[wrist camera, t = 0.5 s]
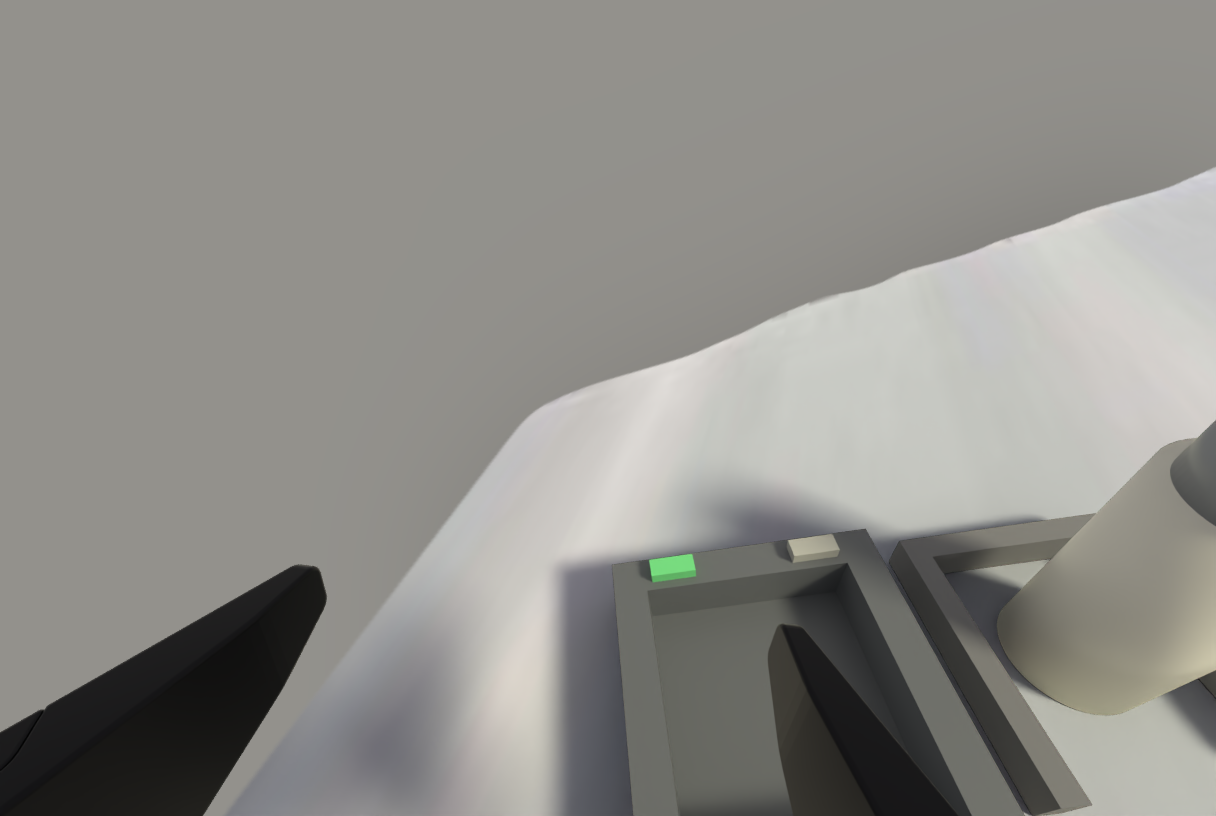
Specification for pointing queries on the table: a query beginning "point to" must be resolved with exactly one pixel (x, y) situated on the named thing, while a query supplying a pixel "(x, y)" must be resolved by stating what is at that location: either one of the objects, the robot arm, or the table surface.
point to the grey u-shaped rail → (974, 660)
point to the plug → (1127, 592)
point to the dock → (740, 684)
